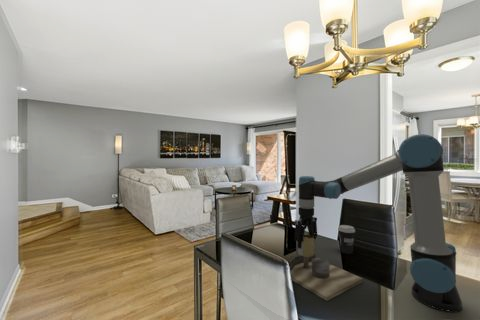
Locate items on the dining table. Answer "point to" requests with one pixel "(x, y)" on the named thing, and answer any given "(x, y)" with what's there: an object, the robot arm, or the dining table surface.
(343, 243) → the coffee cup
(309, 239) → the tan piece
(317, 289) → the carrier
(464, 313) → the dining table surface
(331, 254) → the dining table surface
